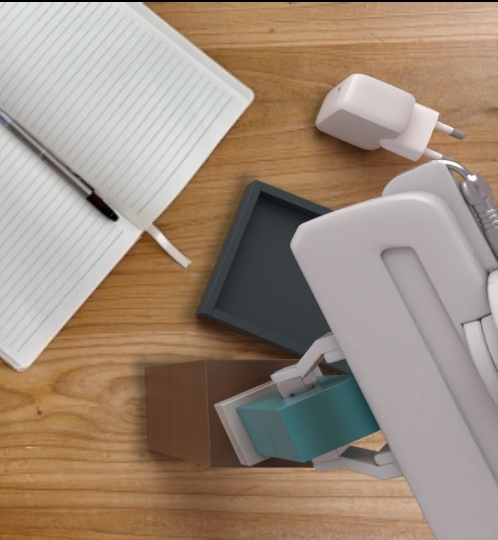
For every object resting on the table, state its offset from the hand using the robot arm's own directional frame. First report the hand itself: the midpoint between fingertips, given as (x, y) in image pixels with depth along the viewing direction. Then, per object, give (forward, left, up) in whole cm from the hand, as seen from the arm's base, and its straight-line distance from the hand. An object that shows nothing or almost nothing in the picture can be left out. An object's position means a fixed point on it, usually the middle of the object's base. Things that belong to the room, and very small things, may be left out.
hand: (296, 421), depth 49 cm
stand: (0, 0, -25) cm, 25 cm away
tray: (-6, -14, -25) cm, 30 cm away
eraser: (0, 0, -5) cm, 5 cm away
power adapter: (-7, -29, -25) cm, 39 cm away
